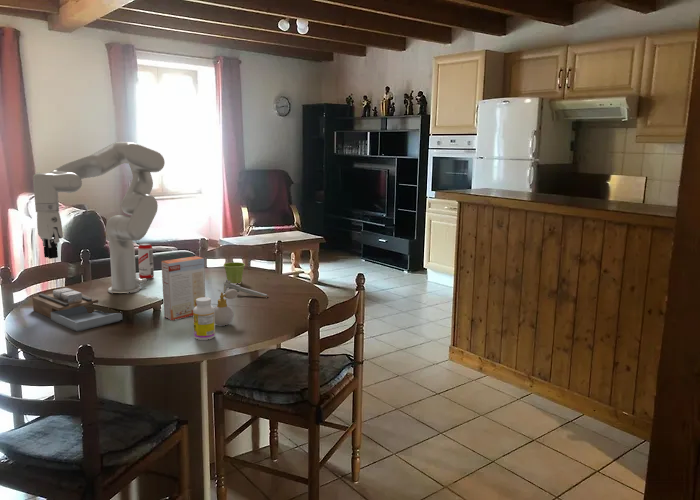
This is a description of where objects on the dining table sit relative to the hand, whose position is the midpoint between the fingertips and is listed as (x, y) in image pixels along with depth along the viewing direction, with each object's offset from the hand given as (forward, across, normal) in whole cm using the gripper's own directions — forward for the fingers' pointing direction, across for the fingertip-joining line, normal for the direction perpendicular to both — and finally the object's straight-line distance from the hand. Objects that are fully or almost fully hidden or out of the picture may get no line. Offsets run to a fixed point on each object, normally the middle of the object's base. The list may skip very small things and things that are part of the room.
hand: (51, 257), depth 204 cm
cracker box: (+19, -44, -26) cm, 54 cm away
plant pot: (+19, -20, -69) cm, 75 cm away
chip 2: (+14, -14, 0) cm, 20 cm away
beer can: (+19, +16, -48) cm, 54 cm away
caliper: (+20, -40, -59) cm, 74 cm away
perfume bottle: (+19, -62, -29) cm, 71 cm away
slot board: (+19, -8, 0) cm, 21 cm away
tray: (+19, -24, 0) cm, 30 cm away
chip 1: (+14, -8, 0) cm, 16 cm away
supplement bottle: (+19, -68, -16) cm, 72 cm away
